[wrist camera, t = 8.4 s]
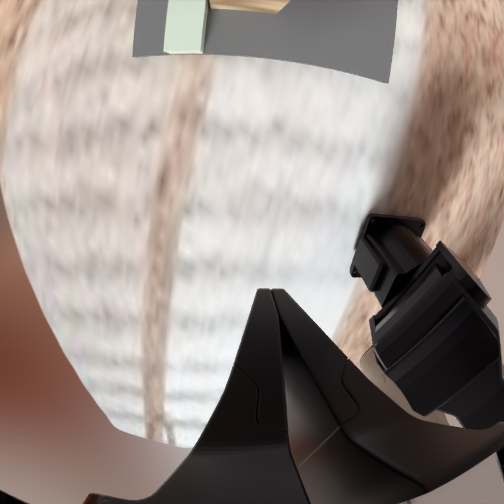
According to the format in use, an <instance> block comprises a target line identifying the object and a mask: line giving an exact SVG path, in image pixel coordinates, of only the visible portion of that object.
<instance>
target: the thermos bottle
mask: <svg viewBox="0 0 504 504" xmlns="http://www.w3.org/2000/svg"><path fill="white" fill-rule="evenodd" d="M360 367H361V370H362V372H363V374H364V375H365V376H366V377H367V378H368V379H369V380H370V381H372V382H373V383H374V384H375V385H376V386H377V387H378V388H379V389H380V390H382V391H383V392H384V393H385V394H386V395H387V396H389V397H390V398H391V399H392V400H393V401H395V402H396V403H397V404H398V405H399V406H400V407H402V408H403V409H404V410H405V411H407V412H408V413H409V414H411V415H412V416H414V417H416V418H418V419H421V420H424V421H429V422H433V423H438V424H443V425H449V424H448V421H447V419H446V416H445V414H444V413H443V412H440V411H437V410H435V411H434V412H432V413H431V414H429V415H428V416H426V417H424V416H421V415H420V414H418V413H416V412H415V411H413V410H412V408H411V406H410V405H409V403H408V401H407V400H406V398H405V396H404V395H403V393H402V392H401V390H400V389H399V388H398V387H397V385H396V384H395V383H394V382H393V381H392V380H391V379H390V378H388V377H387V376H386V375H385V373H384V372H383V371H382V369H381V368H380V366H379V365H378V364H377V362H376V358H375V354H374V348H373V347H372V348H370V349H369V350H368V351H367V352H366V353H365V354H364V355H363V357H362V358H361V360H360Z"/></svg>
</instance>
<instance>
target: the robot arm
mask: <svg viewBox="0 0 504 504" xmlns="http://www.w3.org/2000/svg"><path fill="white" fill-rule="evenodd" d="M373 219H374V221H372V220H373ZM371 221H372V222H371ZM420 224H421V225H420ZM425 225H426V223H425V221H424V220H423V219H418V218H409V217H400V216H390V215H380V214H371V215H369V216H368V218H367V220H366V223H365V227H364V230H363V233H362V236H361V238H360V240H359V243H358V246H357V249H356V252H355V255H354V258H353V263H352V266H351V269H350V274H351V276H352V277H354V278H356V277H362V279H363V280H364V282H365V284H366V286H367V288H368V289H369V291H370V292H374V294H375V296H376V297H377V299H378V301H379V303H380V305H381V307H382V309H381V310H380V311H379V312H378V313H377V314H376V315H373V316H372V317H371V318H370V319H369V323H370V329H371V335H372V341H373V348H374V354H375V358H376V362H377V364H378V365H379V366H380V368H381V369H382V371H383V372H384V373H385V375H386V376H387V377H388V378H390V379H391V380H392V381H393V382H394V383H395V384H396V385H397V387H398V388H399V389H400V390H401V392H402V393H403V395H404V396H405V398H406V400H407V401H408V403H409V405H410V406H411V408H412V410H413V411H415V412H416V413H418V414H420V415H421V416H424V417H426V416H428V415H429V414H431V413H432V412H434V411H435V410H437V411H440V412H443V413H446V414H449V415H453V416H455V417H456V418H457V420H458V421H459V422H460V424H461V425H462V427H463V428H460V427H454V426H449V425H443V424H438V423H433V422H429V421H424V420H421V419H418V418H416V417H414V416H412V415H411V414H409V413H408V412H407V411H405V410H404V409H403V408H402V407H400V406H399V405H398V404H397V403H396V402H395V401H393V400H392V399H391V398H390V397H389V396H387V395H386V394H385V393H384V392H383V391H382V390H380V389H379V388H378V387H377V386H376V385H375V384H374V383H373V382H372V381H370V380H369V379H368V378H367V377H366V376H365V375H364V374H363V373H362V372H361V371H360V370H359V369H358V368H357V367H356V366H355V365H354V364H353V363H352V361H351V360H350V359H348V357H347V356H346V355H345V354H344V353H343V352H342V351H341V350H340V349H339V348H338V347H337V346H336V344H335V343H334V342H333V341H332V340H331V339H330V338H329V337H328V336H327V335H326V334H325V333H324V332H323V331H322V329H321V328H320V327H319V326H318V325H317V324H316V323H315V322H314V321H313V320H312V319H311V318H310V317H309V316H308V314H307V313H306V312H305V311H304V310H303V309H302V308H301V307H300V306H299V305H298V304H297V303H296V302H295V300H294V299H293V298H292V297H291V296H290V295H289V294H288V293H287V292H286V291H285V290H284V289H271V290H270V289H268V288H259V289H257V292H256V295H255V298H254V301H253V305H252V308H251V311H250V314H249V317H248V321H247V324H246V327H245V330H244V333H243V336H242V339H241V343H240V346H239V349H238V352H237V355H236V358H235V361H234V364H233V367H232V370H231V373H230V376H229V379H228V382H227V384H226V387H225V390H224V392H223V394H222V396H221V398H220V400H219V402H218V404H217V406H216V408H215V410H214V412H213V414H212V416H211V417H210V419H209V421H208V423H207V425H206V427H205V428H204V430H203V432H202V434H201V436H200V438H199V439H198V441H197V443H196V444H195V446H194V447H193V449H192V451H191V452H190V453H189V455H188V456H187V457H186V458H185V460H184V461H183V462H182V463H181V464H180V465H179V466H178V468H177V469H176V470H175V471H174V472H173V473H172V474H171V475H170V477H169V478H168V479H167V480H166V481H165V482H164V483H163V484H162V485H161V487H160V488H159V489H158V490H157V491H156V492H155V493H153V494H152V495H151V496H149V497H147V498H144V499H140V500H128V499H123V498H117V497H112V496H107V495H102V494H95V493H91V494H89V495H88V496H87V498H86V499H85V501H84V503H83V504H504V365H503V363H502V356H501V344H500V335H499V326H498V321H497V318H496V317H495V316H494V314H493V313H492V312H491V310H490V309H489V308H488V306H487V304H488V302H489V301H490V300H491V297H490V295H489V294H488V292H487V291H486V289H485V287H484V286H483V284H482V283H481V281H480V279H479V278H478V277H477V276H476V275H475V274H474V272H473V271H472V270H471V269H470V268H469V267H468V266H467V265H466V263H465V262H464V261H463V260H462V259H461V258H459V257H458V256H457V255H456V254H455V253H454V252H453V251H452V250H451V249H449V248H448V247H447V246H446V245H445V244H444V243H443V242H441V241H439V242H438V243H437V245H436V248H435V249H434V250H432V249H431V248H430V247H429V246H428V245H427V244H426V243H425V241H424V240H423V239H422V238H421V236H422V233H423V231H424V228H425ZM355 271H356V272H355ZM354 272H355V273H354ZM347 359H348V360H347ZM0 504H29V503H27V502H25V501H22V500H20V499H18V498H16V497H14V496H12V495H10V494H8V493H6V492H4V491H2V490H0Z"/></svg>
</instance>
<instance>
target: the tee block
mask: <svg viewBox="0 0 504 504" xmlns="http://www.w3.org/2000/svg"><path fill="white" fill-rule="evenodd" d="M209 1H210V7H211V9H230V10H244V11H255V12H263V13H271V14H277V13H278V12H279V11H280V10H281V9H282V8H283V7H284V6H285V5H286V4H287V3H288V2H289V1H291V0H209Z"/></svg>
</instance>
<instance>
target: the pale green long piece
mask: <svg viewBox="0 0 504 504" xmlns="http://www.w3.org/2000/svg"><path fill="white" fill-rule="evenodd" d="M208 5H209V0H169V1H168V9H167V17H166V27H165V37H164V50H163V51H164V52H166V53H169V54H203V53H204V42H205V32H206V22H207V13H208Z"/></svg>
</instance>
